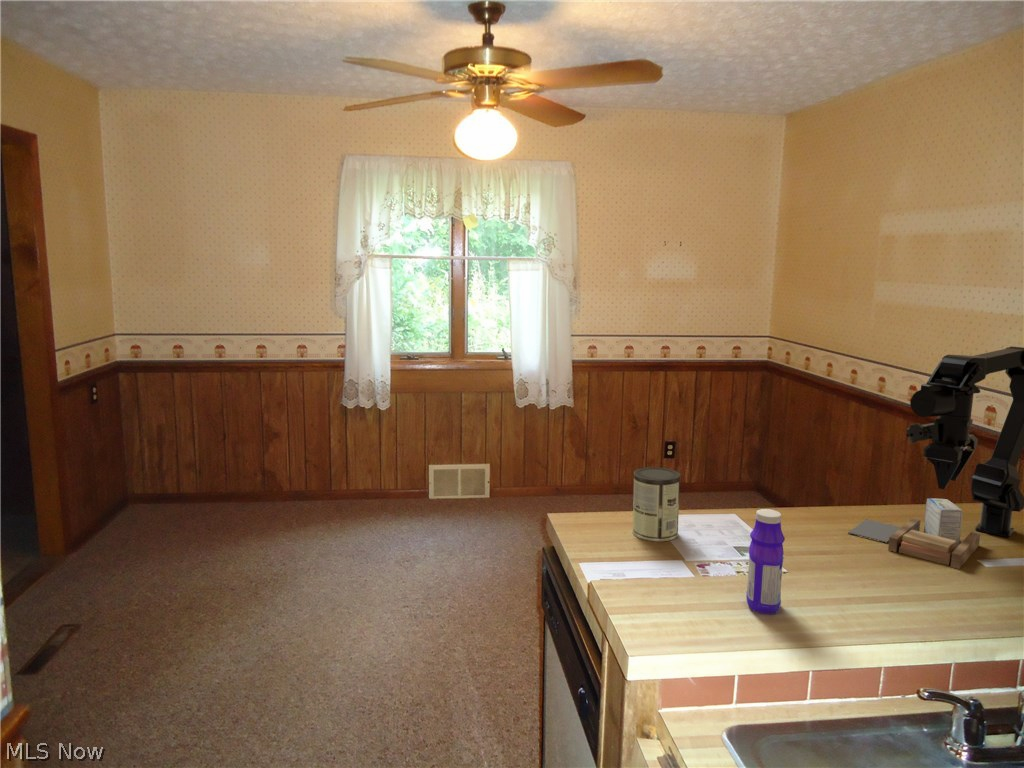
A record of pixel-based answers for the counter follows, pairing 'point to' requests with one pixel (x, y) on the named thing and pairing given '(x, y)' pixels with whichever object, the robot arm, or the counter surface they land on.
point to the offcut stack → (927, 547)
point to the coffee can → (656, 504)
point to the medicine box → (943, 519)
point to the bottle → (765, 563)
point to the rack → (957, 555)
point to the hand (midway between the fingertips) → (947, 484)
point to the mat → (874, 530)
